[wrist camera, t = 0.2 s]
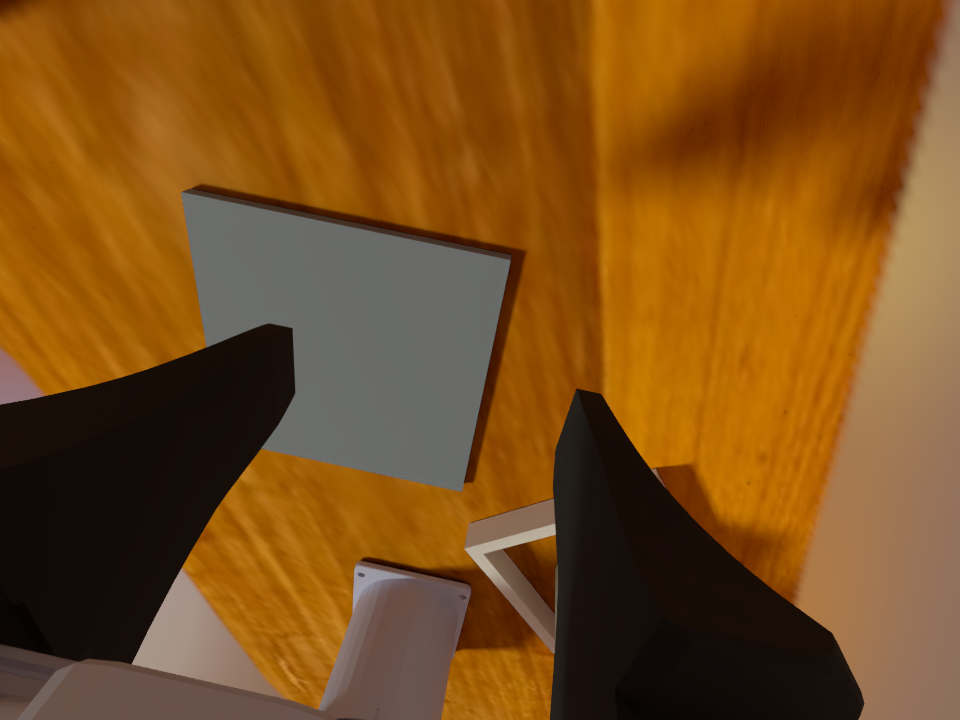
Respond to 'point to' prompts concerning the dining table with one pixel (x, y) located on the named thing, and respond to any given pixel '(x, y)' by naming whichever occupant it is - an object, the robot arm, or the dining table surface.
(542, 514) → the rectangular frame
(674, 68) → the dining table surface
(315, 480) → the dining table surface
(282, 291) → the mat
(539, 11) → the dining table surface
